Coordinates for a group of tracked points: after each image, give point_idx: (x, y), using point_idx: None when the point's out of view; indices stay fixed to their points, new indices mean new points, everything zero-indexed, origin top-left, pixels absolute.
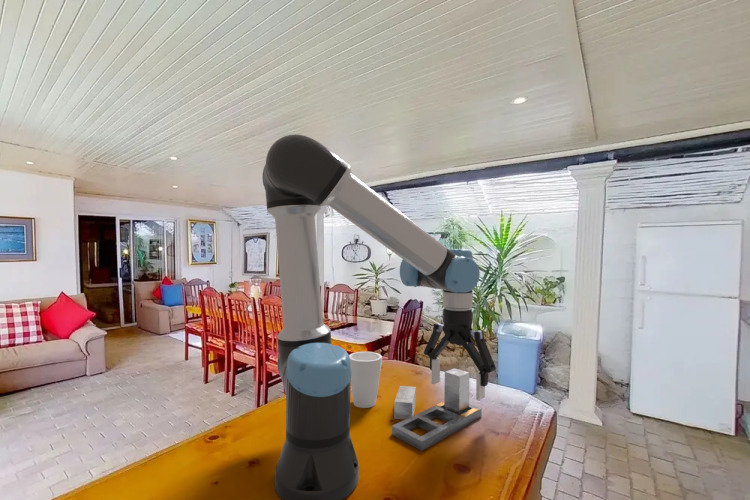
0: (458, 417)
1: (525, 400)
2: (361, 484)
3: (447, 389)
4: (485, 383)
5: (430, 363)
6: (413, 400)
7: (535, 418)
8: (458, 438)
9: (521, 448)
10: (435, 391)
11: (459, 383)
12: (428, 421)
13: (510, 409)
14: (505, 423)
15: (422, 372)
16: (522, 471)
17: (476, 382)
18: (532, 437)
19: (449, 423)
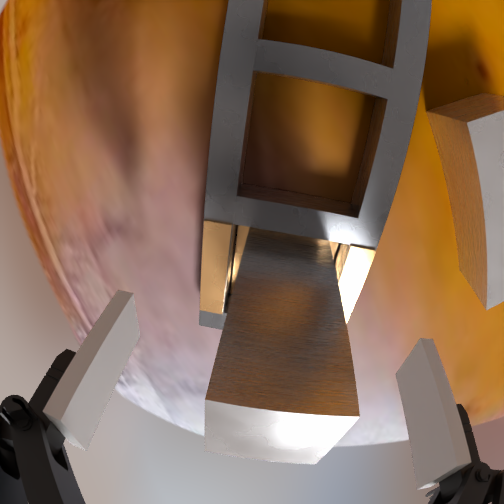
0: (228, 198)
1: (176, 415)
2: None
3: (323, 317)
4: (56, 365)
5: (470, 436)
6: (474, 187)
7: None
8: (183, 90)
9: (37, 190)
10: None
11: (217, 353)
12: (330, 63)
13: (171, 374)
14: None
15: None
16: (2, 91)
17: (89, 364)
18: (54, 264)
19: (230, 110)
